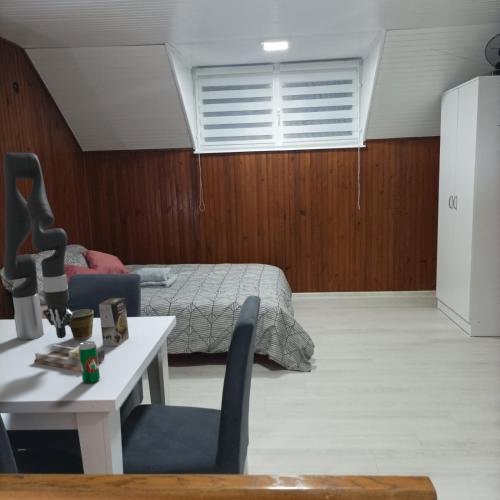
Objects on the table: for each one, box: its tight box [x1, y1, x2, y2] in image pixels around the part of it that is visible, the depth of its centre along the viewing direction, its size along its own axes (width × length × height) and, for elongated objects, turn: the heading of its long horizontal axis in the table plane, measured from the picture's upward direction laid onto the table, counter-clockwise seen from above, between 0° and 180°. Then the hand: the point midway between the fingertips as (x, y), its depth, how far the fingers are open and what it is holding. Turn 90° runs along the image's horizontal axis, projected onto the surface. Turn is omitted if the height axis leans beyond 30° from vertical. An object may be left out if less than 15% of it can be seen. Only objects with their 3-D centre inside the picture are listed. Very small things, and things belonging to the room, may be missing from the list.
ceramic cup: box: [67, 308, 95, 341], centre depth 176 cm, size 13×10×10 cm
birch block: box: [69, 346, 80, 360], centre depth 150 cm, size 6×6×4 cm
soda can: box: [78, 340, 101, 385], centre depth 136 cm, size 5×5×12 cm
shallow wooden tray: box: [34, 344, 106, 372], centre depth 153 cm, size 23×10×4 cm, turn 65°
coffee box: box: [98, 297, 130, 347], centre depth 169 cm, size 9×6×16 cm
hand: (61, 337), depth 153 cm, fingers closed
